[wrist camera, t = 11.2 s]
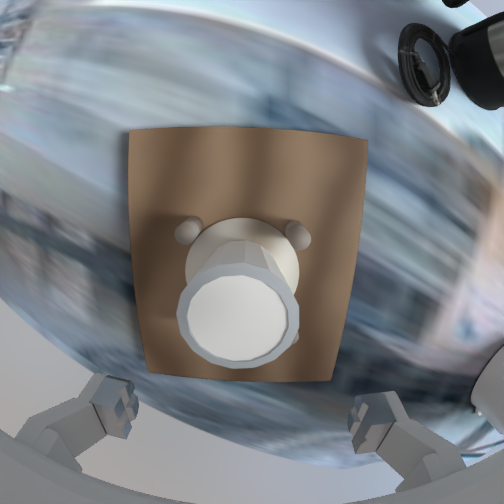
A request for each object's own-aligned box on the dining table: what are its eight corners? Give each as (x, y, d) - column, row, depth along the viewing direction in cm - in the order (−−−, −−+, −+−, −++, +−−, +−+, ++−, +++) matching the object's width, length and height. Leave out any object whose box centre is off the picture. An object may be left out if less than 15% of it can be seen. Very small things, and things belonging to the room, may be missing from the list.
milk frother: (509, 80, 17) (598, 70, 3) (470, 173, 21) (589, 198, 7) (426, -11, 15) (502, -66, 1) (368, 68, 19) (478, -6, 5)
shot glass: (195, 309, 23) (176, 362, 16) (200, 227, 21) (176, 255, 14) (279, 318, 23) (288, 374, 16) (293, 237, 21) (311, 270, 14)
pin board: (360, 141, 21) (385, 136, 16) (327, 370, 27) (337, 401, 23) (137, 132, 20) (112, 126, 16) (152, 362, 27) (139, 391, 22)
